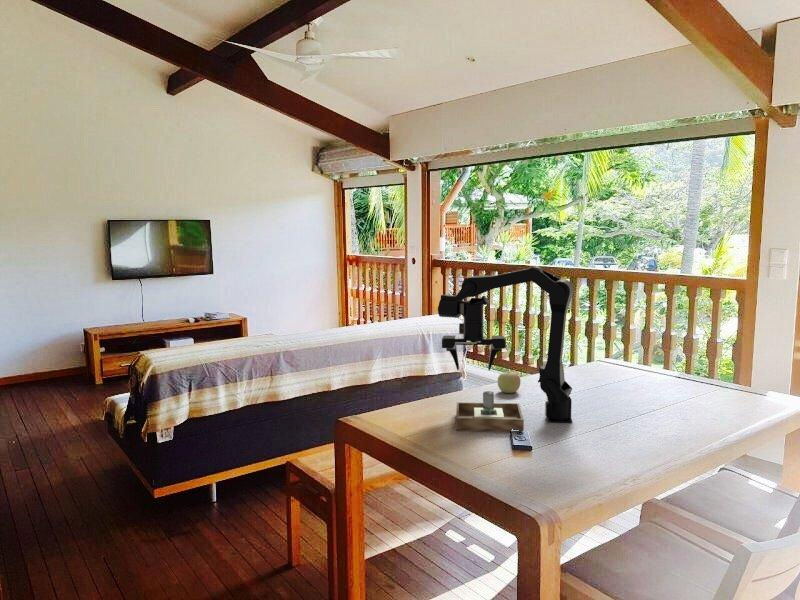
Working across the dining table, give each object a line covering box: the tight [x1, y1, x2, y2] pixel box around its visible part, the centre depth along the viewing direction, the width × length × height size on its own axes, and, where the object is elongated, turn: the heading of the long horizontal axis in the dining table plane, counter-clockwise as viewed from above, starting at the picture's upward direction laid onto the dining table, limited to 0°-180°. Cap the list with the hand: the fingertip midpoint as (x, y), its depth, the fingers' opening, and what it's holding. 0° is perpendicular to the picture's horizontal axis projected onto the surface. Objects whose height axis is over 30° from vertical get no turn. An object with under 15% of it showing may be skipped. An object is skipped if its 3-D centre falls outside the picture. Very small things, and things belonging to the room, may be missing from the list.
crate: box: [455, 401, 525, 433], centre depth 167 cm, size 18×14×4 cm
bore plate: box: [474, 408, 504, 418], centre depth 167 cm, size 8×8×2 cm
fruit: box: [497, 368, 521, 394], centre depth 196 cm, size 8×7×8 cm
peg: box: [482, 390, 495, 415], centre depth 167 cm, size 3×3×8 cm
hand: (473, 370), depth 178 cm, fingers open, 9 cm apart
